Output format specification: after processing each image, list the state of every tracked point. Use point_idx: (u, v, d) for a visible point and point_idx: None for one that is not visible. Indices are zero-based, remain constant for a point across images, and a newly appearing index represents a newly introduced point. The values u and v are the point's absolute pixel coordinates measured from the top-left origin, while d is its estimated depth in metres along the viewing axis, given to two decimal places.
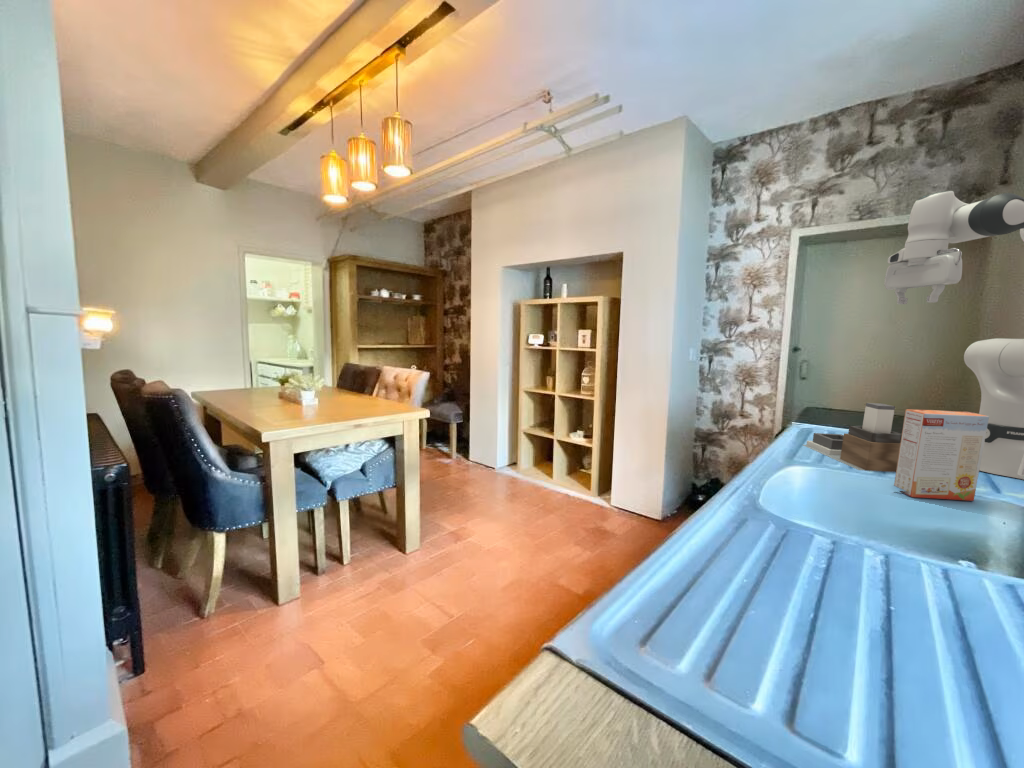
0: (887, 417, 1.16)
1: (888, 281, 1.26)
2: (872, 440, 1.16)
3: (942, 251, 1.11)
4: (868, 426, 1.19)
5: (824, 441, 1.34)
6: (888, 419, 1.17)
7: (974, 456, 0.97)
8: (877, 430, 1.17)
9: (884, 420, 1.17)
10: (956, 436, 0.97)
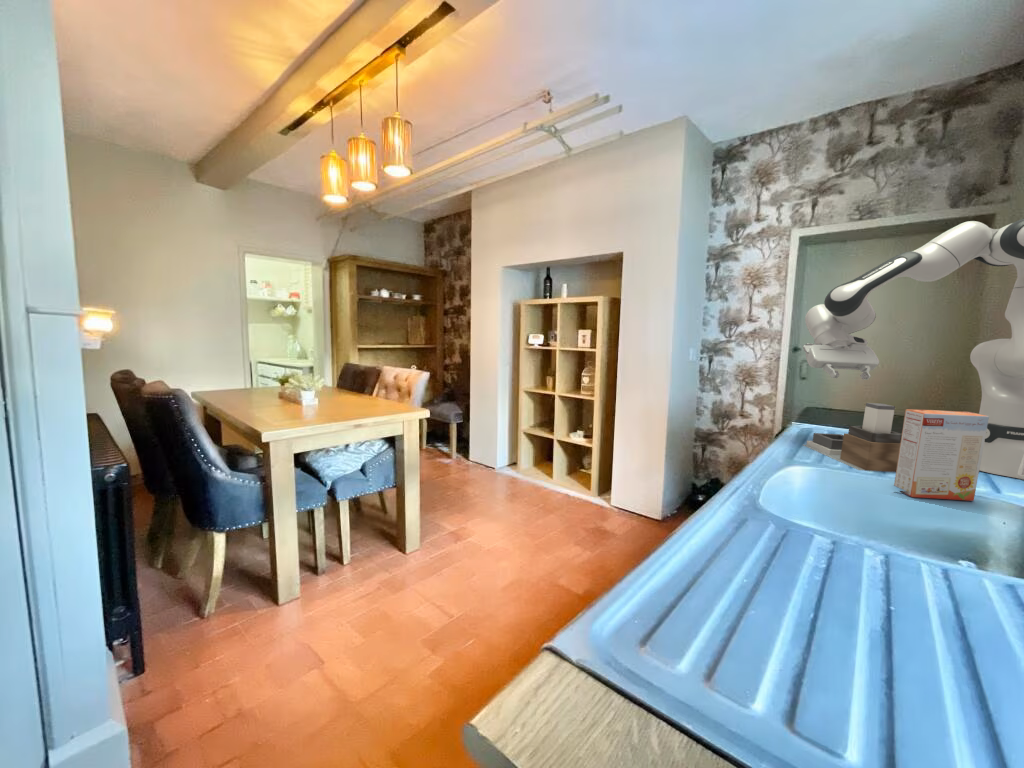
0: (887, 417, 1.16)
1: None
2: (872, 440, 1.16)
3: None
4: (868, 426, 1.19)
5: (824, 441, 1.34)
6: (888, 419, 1.17)
7: (974, 456, 0.97)
8: (877, 430, 1.17)
9: (884, 420, 1.17)
10: (956, 436, 0.97)
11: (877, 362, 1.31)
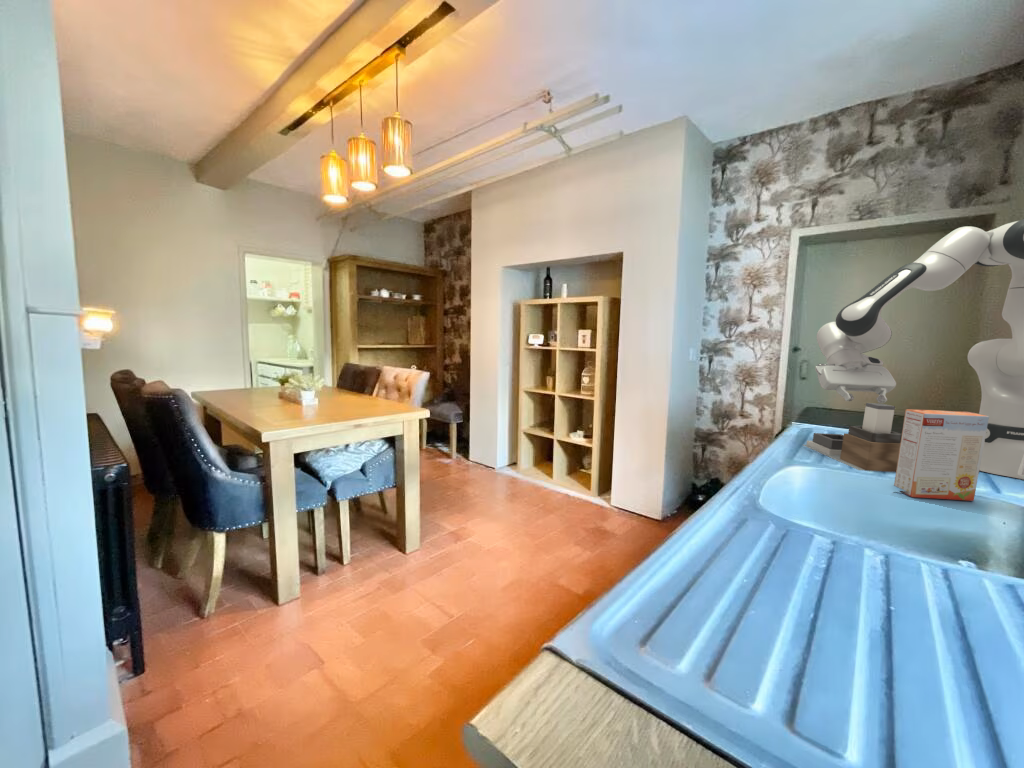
0: (887, 417, 1.16)
1: None
2: (872, 440, 1.16)
3: None
4: (868, 426, 1.19)
5: (824, 441, 1.34)
6: (888, 419, 1.17)
7: (974, 456, 0.97)
8: (877, 430, 1.17)
9: (884, 420, 1.17)
10: (956, 436, 0.97)
11: (894, 384, 1.24)
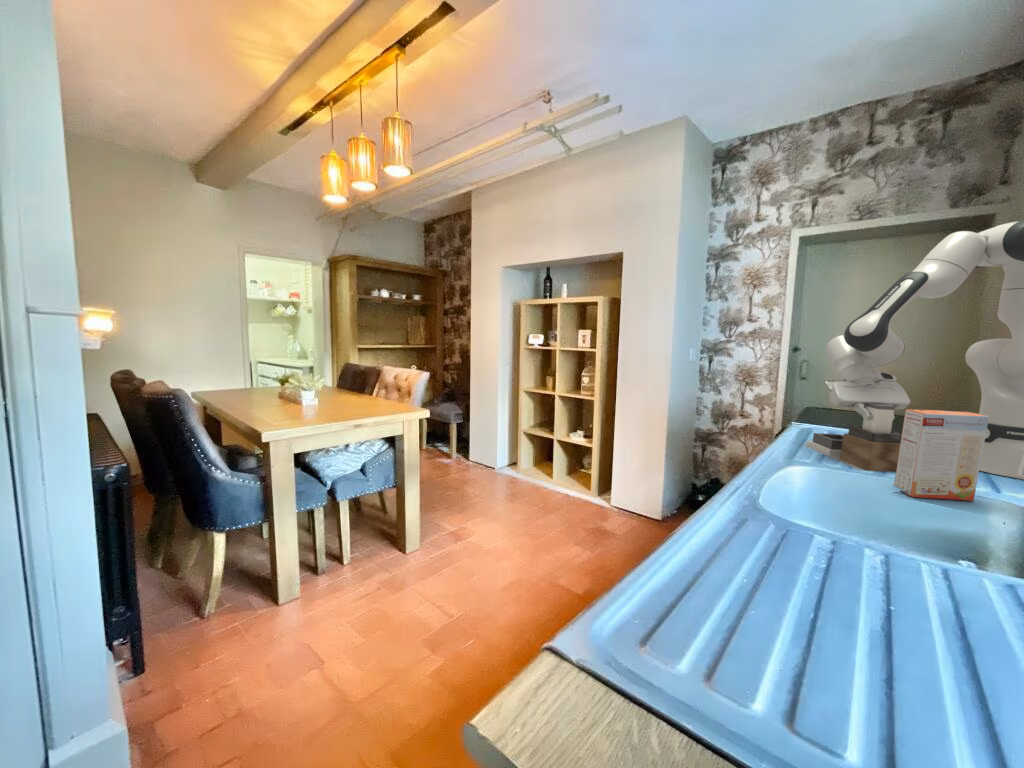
0: (887, 417, 1.16)
1: None
2: (872, 440, 1.16)
3: None
4: (868, 426, 1.19)
5: (824, 441, 1.34)
6: (888, 419, 1.17)
7: (974, 456, 0.97)
8: (877, 430, 1.17)
9: (884, 420, 1.17)
10: (956, 436, 0.97)
11: (908, 401, 1.19)
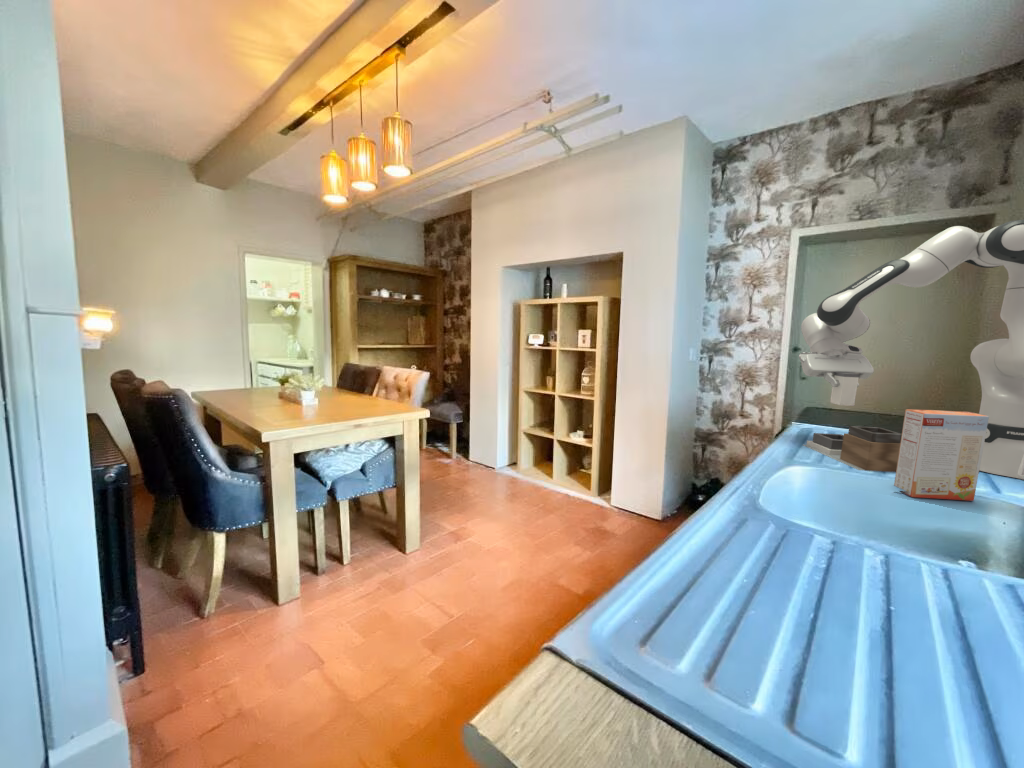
0: (852, 383, 1.30)
1: None
2: (872, 440, 1.16)
3: None
4: (836, 392, 1.33)
5: (824, 441, 1.34)
6: (853, 386, 1.30)
7: (974, 456, 0.97)
8: (843, 395, 1.30)
9: (850, 387, 1.30)
10: (956, 436, 0.97)
11: (872, 371, 1.33)
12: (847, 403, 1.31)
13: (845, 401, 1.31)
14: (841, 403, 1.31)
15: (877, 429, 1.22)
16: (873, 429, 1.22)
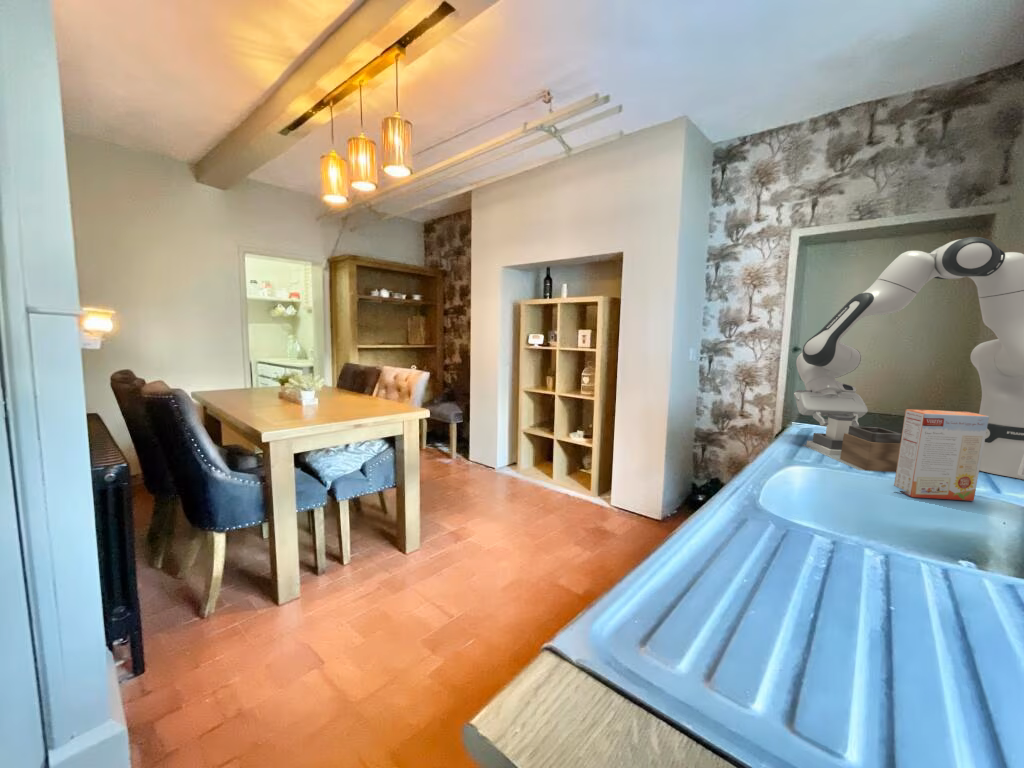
0: (846, 427, 1.32)
1: None
2: (872, 440, 1.16)
3: None
4: (830, 435, 1.35)
5: (824, 441, 1.34)
6: (847, 429, 1.32)
7: (974, 456, 0.97)
8: (837, 438, 1.32)
9: (844, 430, 1.32)
10: (956, 436, 0.97)
11: (865, 410, 1.35)
12: None
13: None
14: None
15: (877, 429, 1.22)
16: (873, 429, 1.22)
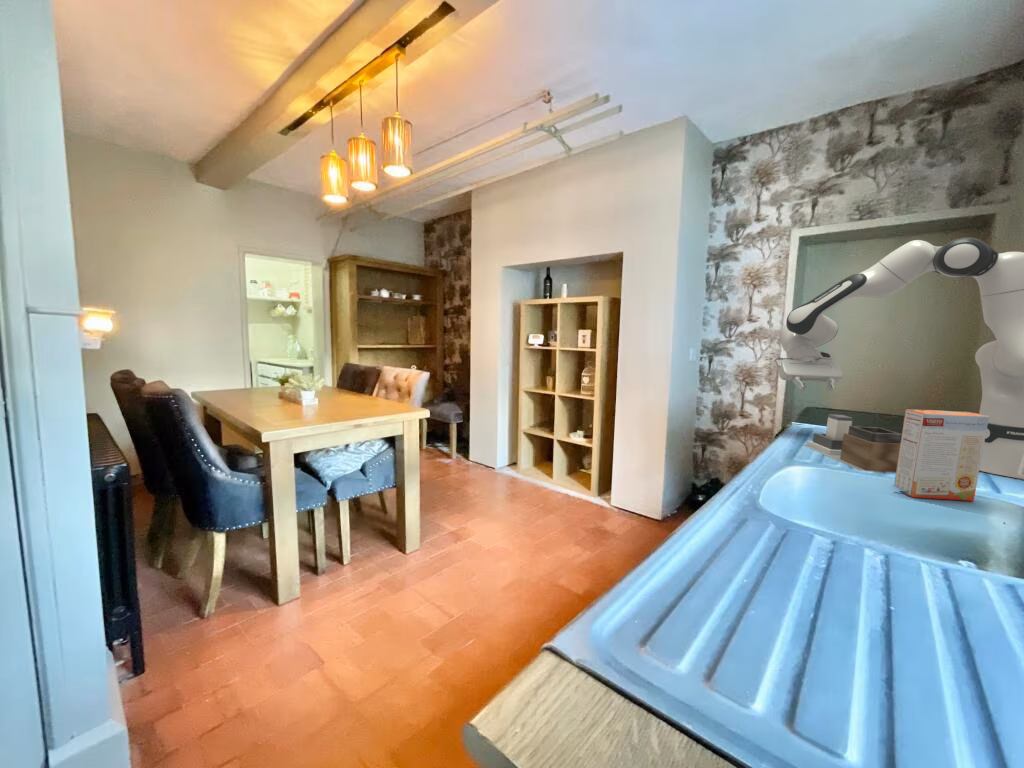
0: (846, 427, 1.32)
1: None
2: (872, 440, 1.16)
3: None
4: (830, 435, 1.35)
5: (824, 441, 1.34)
6: (847, 429, 1.32)
7: (974, 456, 0.97)
8: (837, 438, 1.32)
9: (844, 430, 1.32)
10: (956, 436, 0.97)
11: (841, 375, 1.46)
12: None
13: None
14: None
15: (877, 429, 1.22)
16: (873, 429, 1.22)
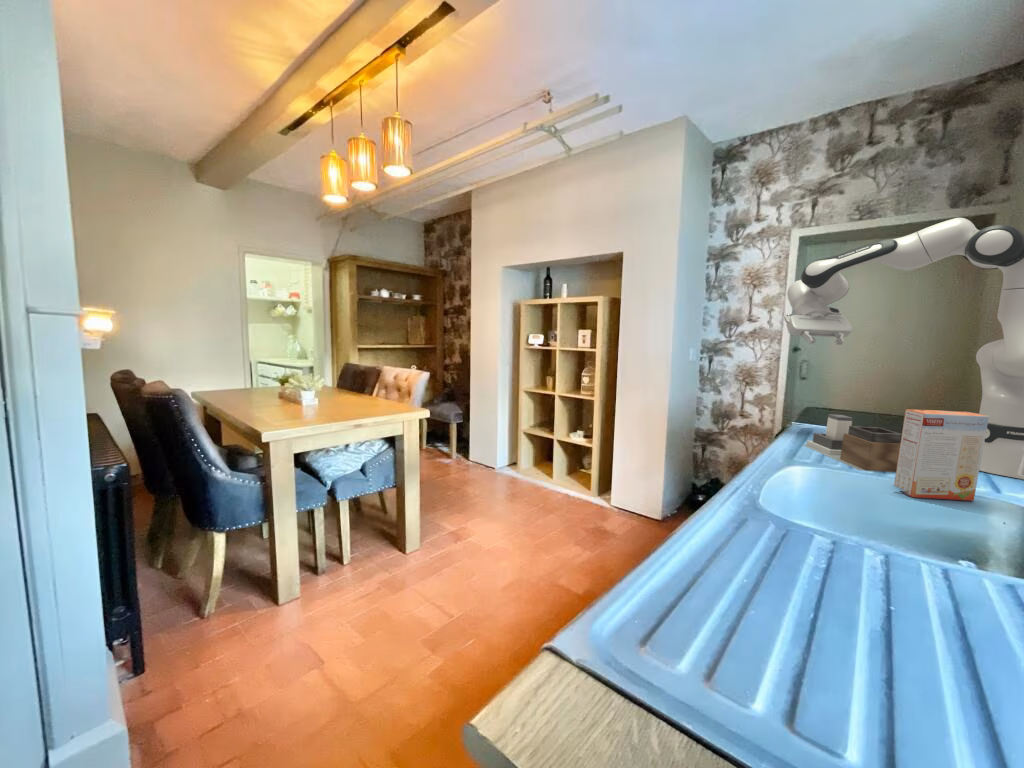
0: (846, 427, 1.32)
1: None
2: (872, 440, 1.16)
3: None
4: (830, 435, 1.35)
5: (824, 441, 1.34)
6: (847, 429, 1.32)
7: (974, 456, 0.97)
8: (837, 438, 1.32)
9: (844, 430, 1.32)
10: (956, 436, 0.97)
11: (850, 329, 1.45)
12: None
13: None
14: None
15: (877, 429, 1.22)
16: (873, 429, 1.22)
